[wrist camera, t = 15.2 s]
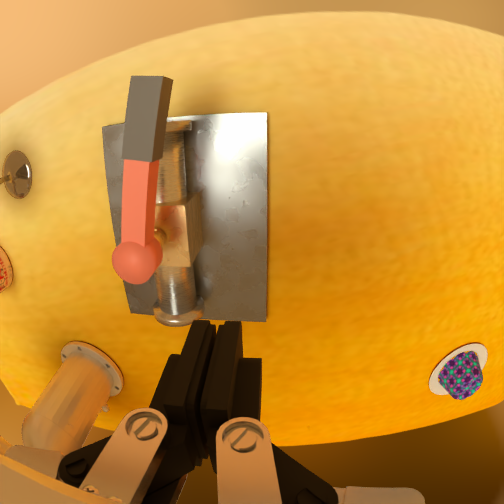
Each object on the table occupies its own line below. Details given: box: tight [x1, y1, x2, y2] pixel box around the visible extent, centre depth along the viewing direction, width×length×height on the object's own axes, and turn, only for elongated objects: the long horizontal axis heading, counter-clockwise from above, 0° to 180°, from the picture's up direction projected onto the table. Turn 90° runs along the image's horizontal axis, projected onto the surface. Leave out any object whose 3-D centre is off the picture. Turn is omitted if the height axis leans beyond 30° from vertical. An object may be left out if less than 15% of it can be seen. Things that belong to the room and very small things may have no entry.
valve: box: [102, 113, 267, 327], centre depth 30 cm, size 24×18×10 cm
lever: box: [112, 76, 173, 284], centre depth 21 cm, size 16×4×2 cm, turn 170°
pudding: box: [429, 344, 488, 400], centre depth 39 cm, size 12×12×5 cm
